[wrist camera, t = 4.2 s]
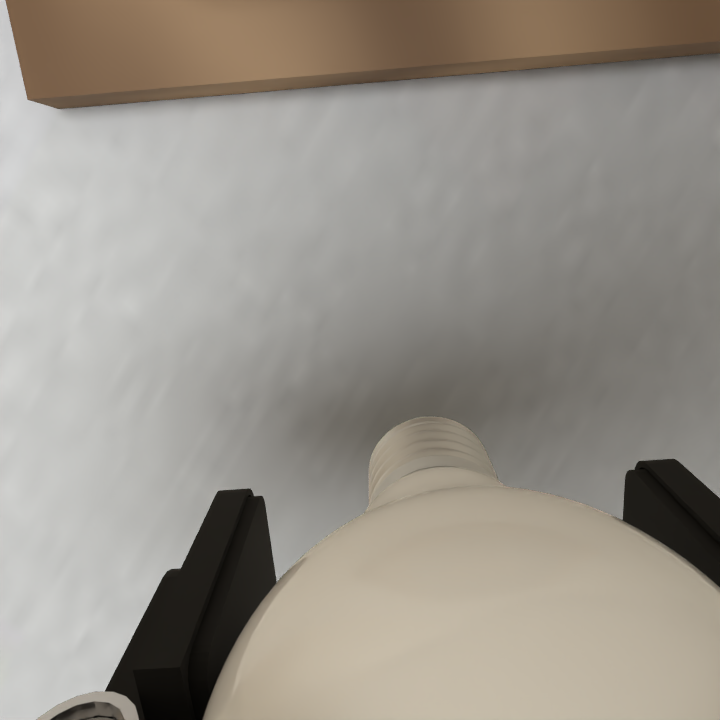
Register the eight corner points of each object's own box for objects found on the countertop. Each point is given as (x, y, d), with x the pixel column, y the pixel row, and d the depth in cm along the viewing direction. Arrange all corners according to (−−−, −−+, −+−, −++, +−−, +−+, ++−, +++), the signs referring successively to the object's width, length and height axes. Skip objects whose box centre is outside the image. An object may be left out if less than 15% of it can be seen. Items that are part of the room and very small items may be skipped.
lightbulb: (234, 450, 14) (-227, 1365, 3) (441, 265, 12) (875, 762, 2) (413, 617, 15) (522, 1661, 4) (618, 465, 14) (1477, 1439, 3)
